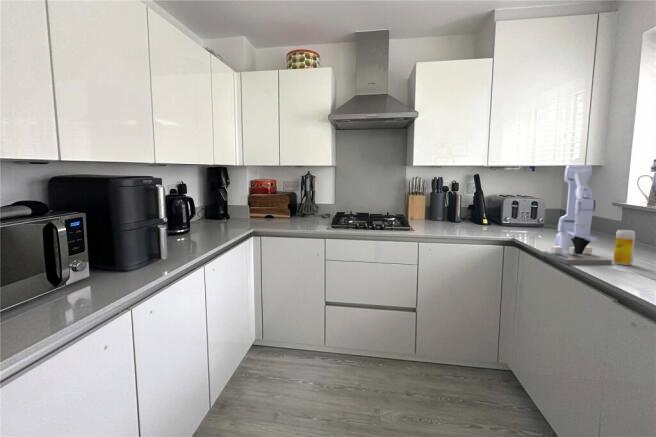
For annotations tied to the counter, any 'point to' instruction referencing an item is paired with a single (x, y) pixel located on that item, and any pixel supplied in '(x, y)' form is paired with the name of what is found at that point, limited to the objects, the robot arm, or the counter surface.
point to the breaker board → (577, 258)
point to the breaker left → (556, 249)
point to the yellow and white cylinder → (624, 247)
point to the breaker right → (587, 250)
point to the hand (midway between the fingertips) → (578, 253)
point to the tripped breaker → (572, 251)
